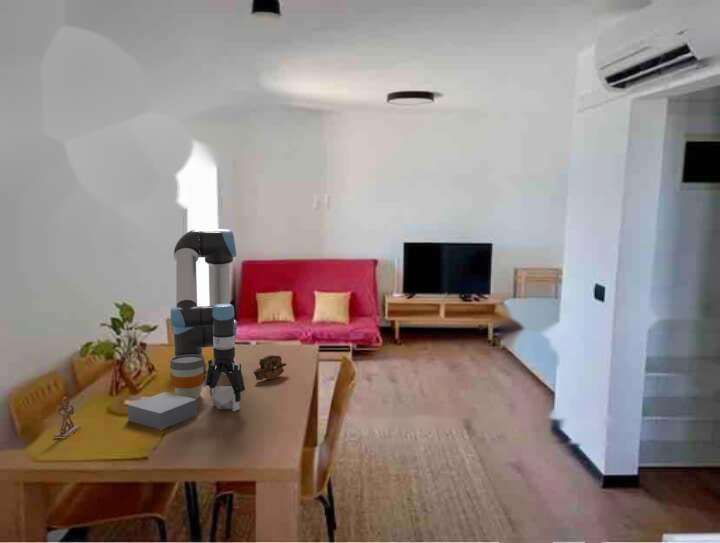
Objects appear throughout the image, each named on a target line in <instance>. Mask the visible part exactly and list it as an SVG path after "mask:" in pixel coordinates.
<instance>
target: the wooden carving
mask: <svg viewBox="0 0 720 543" xmlns="http://www.w3.org/2000/svg"><path fill="white" fill-rule="evenodd" d="M258 364H259V366H260V367H257V368H256V369H255V370H253V375H254V376H255V379H256V381H263V380H266V379H267V380H273V379H276V378H279V377H280V376H281V375H282V374H283V373H284V372H285V369H284V367H286V366H287V363H283V362H282V357H281V355H272V354H270V355H269V354H268V355H265V356H264V357H263V358H260V359H259V363H258Z"/></svg>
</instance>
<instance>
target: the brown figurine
mask: <svg viewBox="0 0 720 543" xmlns="http://www.w3.org/2000/svg"><path fill="white" fill-rule="evenodd" d="M69 408H70V410H69ZM56 410H57V414H58V416H60V417H62V422H61V426H60V427H61V428H60V431H59V432H57V433H56V434H54V435H53V438H54V437H66V436H68V435H69V434H71V433H72V432H74V431H76V430H77V429H78V428H80V429H81V425H77V424H76V425H75V424H74V422H73V420H72V419H71V416H72V415H74V413H75V408H74V407H73V405H70V398H69V397H68V396H64V397H63V398H62V399H61V402H60V405H59V406H58V407H57V409H56ZM62 411H63V412H64V413H61V412H62ZM67 420H69V422H68V421H67ZM77 431H78V430H77ZM77 431H76V432H77Z"/></svg>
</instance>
